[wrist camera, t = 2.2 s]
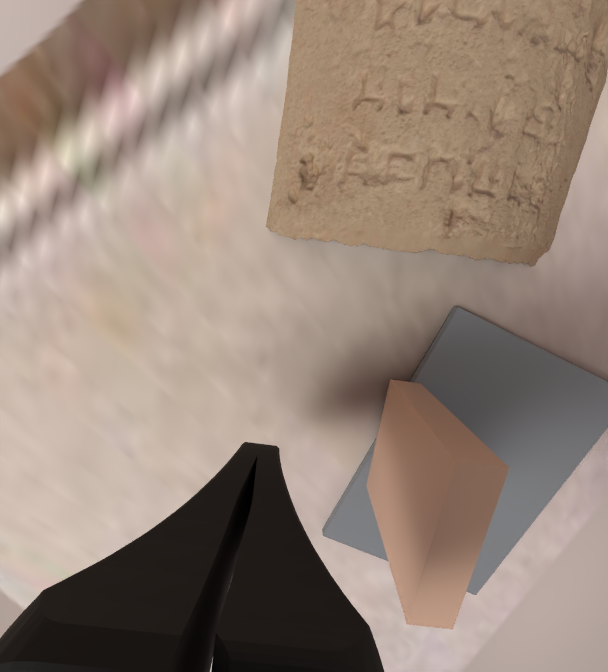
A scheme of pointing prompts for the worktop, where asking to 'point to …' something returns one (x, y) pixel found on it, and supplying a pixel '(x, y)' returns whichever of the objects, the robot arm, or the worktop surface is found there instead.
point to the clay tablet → (437, 122)
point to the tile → (431, 501)
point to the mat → (496, 430)
